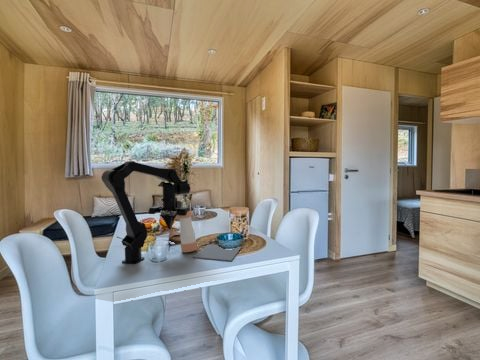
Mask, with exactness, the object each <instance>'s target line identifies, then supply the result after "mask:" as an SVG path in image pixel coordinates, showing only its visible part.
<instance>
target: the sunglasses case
mask: <svg viewBox="0 0 480 360" xmlns="http://www.w3.org/2000/svg"><path fill="white" fill-rule="evenodd" d="M168 241H171V242H174V243H175V245H181V238H180V232H178V231H177V230H174V229H170V232H169V235H168Z"/></svg>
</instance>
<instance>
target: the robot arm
mask: <svg viewBox="0 0 480 360" xmlns="http://www.w3.org/2000/svg"><path fill="white" fill-rule="evenodd" d="M133 172H134V173H139V174H144V175H148V176H152V177H155V178H157V179H159V180H161V181H160V183H159V184H158V185H157V186H158V187H161V188H162V198H161V200H160V201H161V202H162V206H161V205H158V206H156V205H154V206H151V207H150V208H149V209H148V214H149V215H156V213H160V214H159V217H161V218H162V220H163V222H164V223H165V225H166V227H167V229H168V230H172V227H173V225H174V222H175V219H176V217H177V214H178V215H182V216H184V215H186V214H187V212H188V211H191V209H190V207H185V206H184V207H183V206H182V203H183V202H182V201H179V200H178V197H177V196H180V195H188V194H189V193H190V192H191V186H190V184H189V182H188V180H186V179H184V180H183V179H182V180H181V178H180V176H179V175H178V173H177V170H176V169H174V168H159V167H155V166H151V165H148V164H143V163H139V162H136V161H135V160H127V161H125V162H124V163H122V164H120V165H118V166H115V167H114V168H111V169H107V170H105V171H104V172H103V173H102V175H101V181H102V182H103V184H104V186H105V187H106V188H107V190H109V191H110V192H111V194H112V195H113V197H114V200H115V202H116V204H117V206H118V209H119V211H120V213H121V215H122V217H123V220H124V222H125V232H126V235H125V236H124V237H123V239H122V240H121V245H122V246H124V247H125V248H124V260H122V261H121V263H122V264H123V263H124V264H130V265H131V264H133V265H135V264H138V263H140V262H141V261H143V260H145V256H142V248H143V247H144V245H145V243H146V240H147V238H148V232H149V230H148V229H147V228H146V224H145V223H144V222H141V221H139V220H138V218H137V216H136V214H135V211H134V209H133V206H132V204H131V201H130V199H129V197H128V194H127V192H126V181H125V179H126V178H127V177H129V176H130V175H131V174H132V173H133ZM176 195H177V196H176Z"/></svg>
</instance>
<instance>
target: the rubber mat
mask: <svg viewBox="0 0 480 360" xmlns="http://www.w3.org/2000/svg"><path fill="white" fill-rule="evenodd" d="M218 245H219V244H212V245H210V243H209V244H207V245H206V246H204V248H202V249H200V251H199V252H197V253H196V254H195V255H193V259H202V260H211V261H220V262H221V261H223V262H232V261H233V260H235V259H234V258H235V257H236V256H237V255H238V254H239V252H240V251H241V250H242V248H243V247H242V246H238V247H237V248H234V249H232V250H225V249H223V248H221V247H219V246H218ZM239 250H240V251H239Z"/></svg>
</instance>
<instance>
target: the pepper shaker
mask: <svg viewBox="0 0 480 360" xmlns="http://www.w3.org/2000/svg"><path fill="white" fill-rule="evenodd" d="M176 217H177V219H179V227H180V232H179V233H180V238H181V244H180V248H181V249H180V250H181V253H190V252H195V251H197V250H199V249H198V242H197V240H196V234H195V233H196V232H195V229H194V227H193V222H192V221H193V220H192V217H193V212H192V210H190V211H188V212H187V214H186V215H184V216H182V215H178V214H177V216H176Z"/></svg>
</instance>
